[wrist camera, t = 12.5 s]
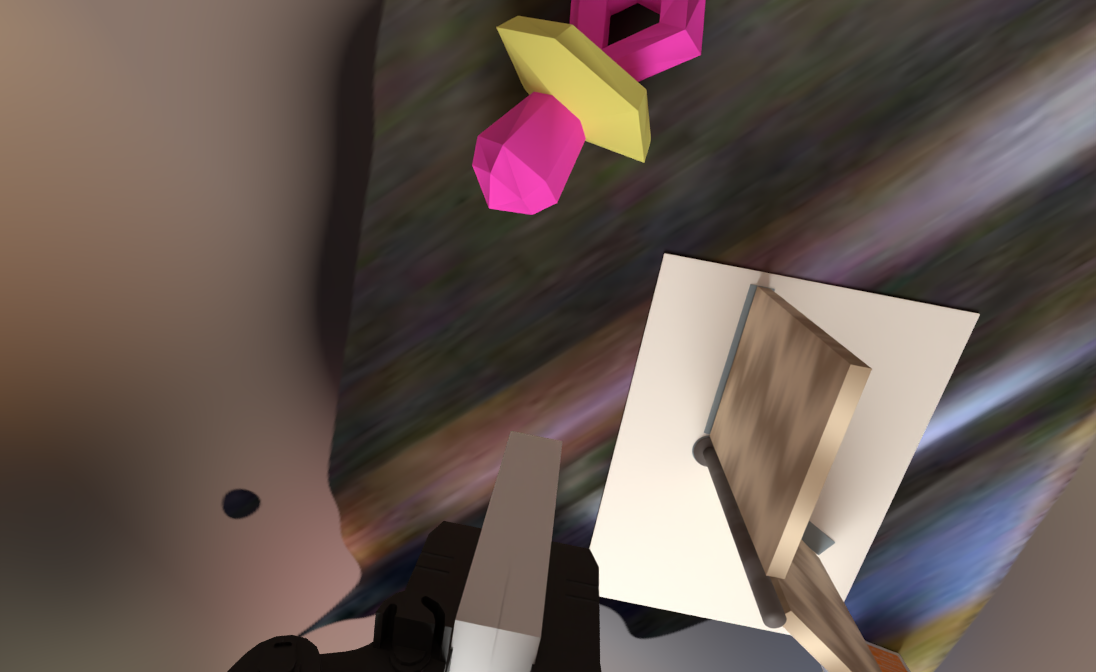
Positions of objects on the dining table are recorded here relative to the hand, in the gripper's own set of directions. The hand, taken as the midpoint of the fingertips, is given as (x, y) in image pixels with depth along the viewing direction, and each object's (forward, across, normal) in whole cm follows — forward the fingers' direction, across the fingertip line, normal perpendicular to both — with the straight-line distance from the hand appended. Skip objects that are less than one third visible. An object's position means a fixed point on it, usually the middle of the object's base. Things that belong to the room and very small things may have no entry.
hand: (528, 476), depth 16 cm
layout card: (+26, +18, -13) cm, 34 cm away
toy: (+27, -1, +12) cm, 29 cm away
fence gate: (+26, +20, -17) cm, 37 cm away
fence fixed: (+26, +14, -6) cm, 30 cm away
